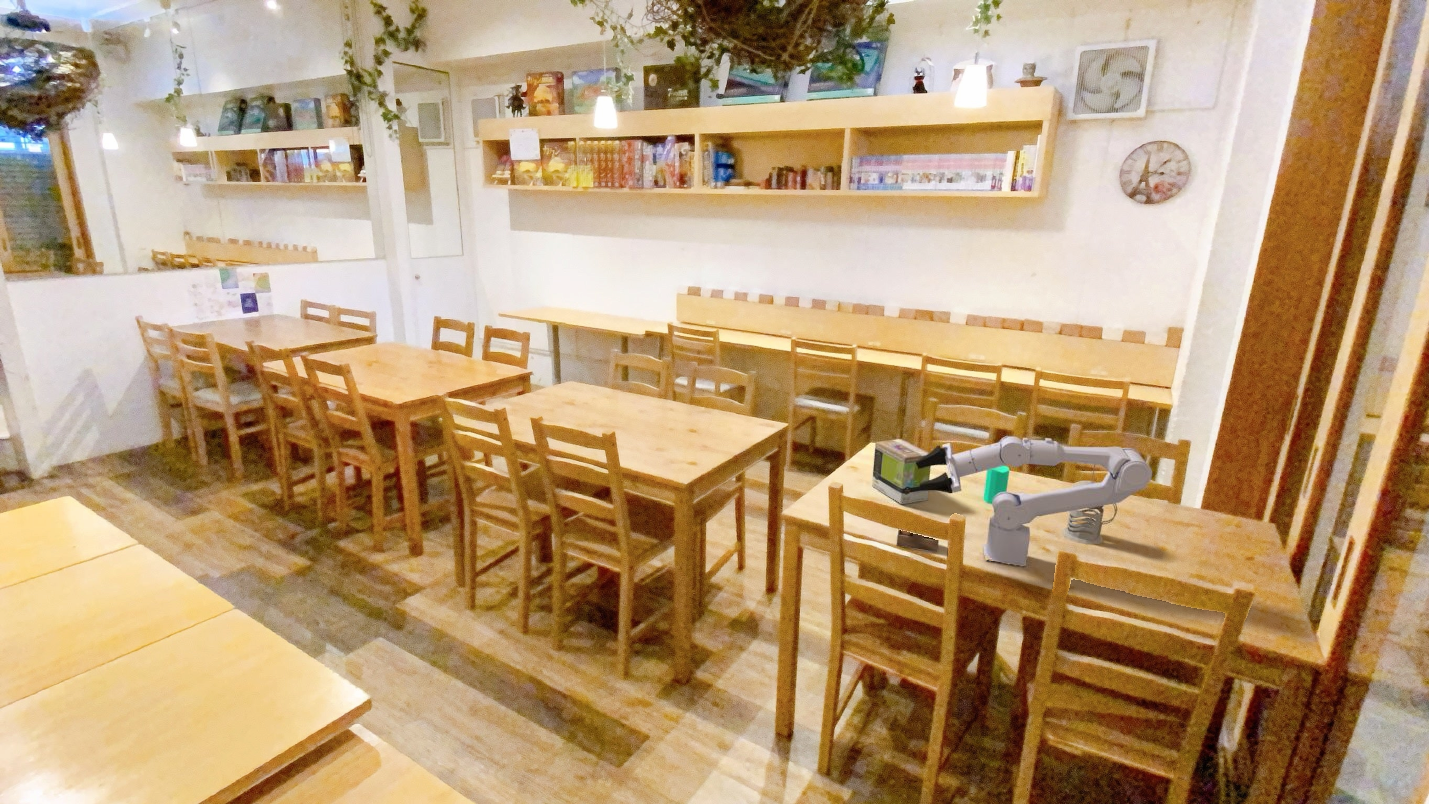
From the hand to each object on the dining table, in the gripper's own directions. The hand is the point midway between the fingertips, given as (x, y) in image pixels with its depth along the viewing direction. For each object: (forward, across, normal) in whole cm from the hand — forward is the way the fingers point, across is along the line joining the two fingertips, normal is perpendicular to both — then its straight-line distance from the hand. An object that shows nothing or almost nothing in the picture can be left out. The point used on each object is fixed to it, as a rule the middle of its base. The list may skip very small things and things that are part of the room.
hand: (918, 475), depth 173 cm
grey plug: (+3, +8, +14) cm, 17 cm away
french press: (-32, 0, +40) cm, 51 cm away
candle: (-12, -19, +39) cm, 45 cm away
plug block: (+6, +9, +15) cm, 19 cm away
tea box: (+12, -21, +28) cm, 37 cm away
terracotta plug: (+8, +7, +12) cm, 16 cm away
